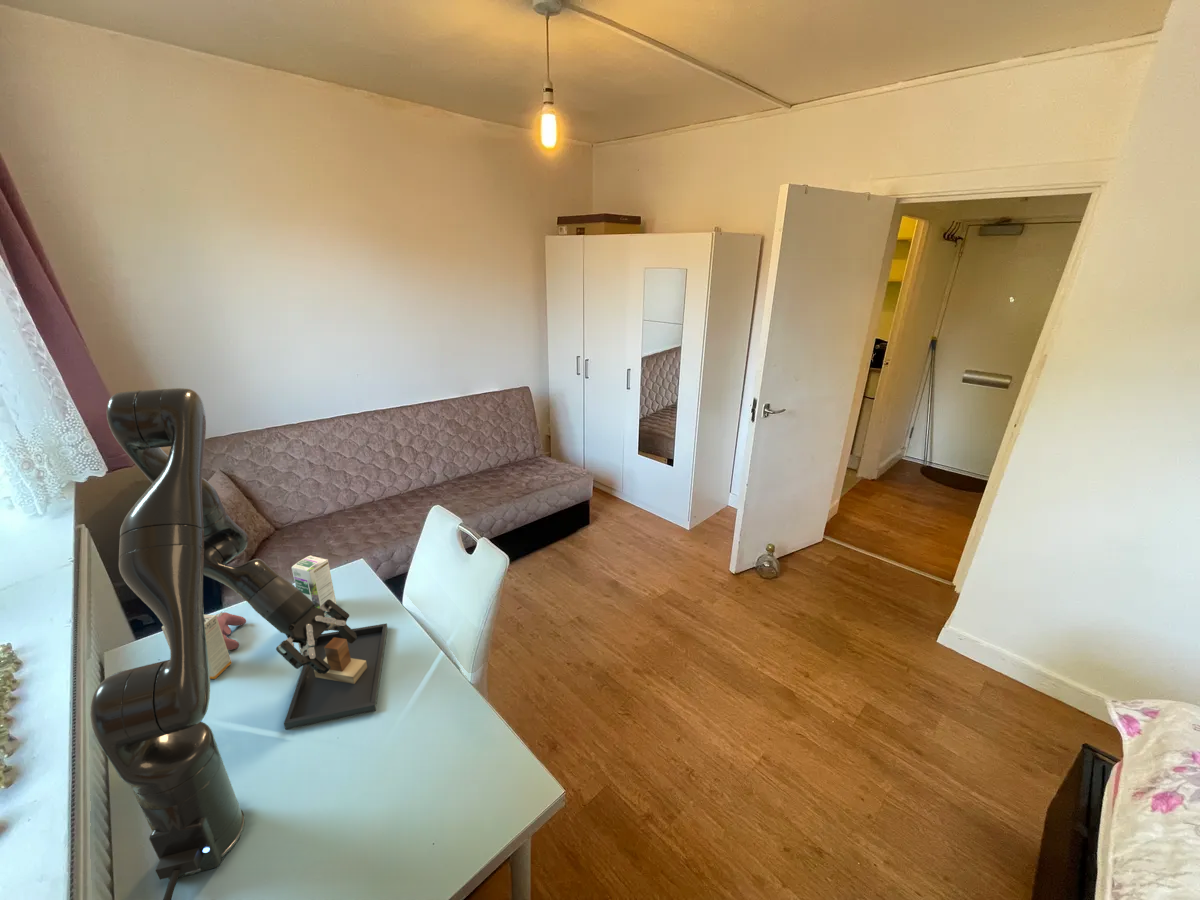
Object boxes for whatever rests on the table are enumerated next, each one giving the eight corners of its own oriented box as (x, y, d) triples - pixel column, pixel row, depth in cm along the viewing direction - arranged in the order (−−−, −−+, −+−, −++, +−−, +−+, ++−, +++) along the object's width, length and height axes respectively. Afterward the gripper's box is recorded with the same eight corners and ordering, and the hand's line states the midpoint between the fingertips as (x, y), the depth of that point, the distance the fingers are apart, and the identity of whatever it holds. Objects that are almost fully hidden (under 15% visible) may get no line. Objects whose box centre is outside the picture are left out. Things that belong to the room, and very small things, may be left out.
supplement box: (233, 662, 106) (218, 614, 101) (215, 680, 102) (198, 630, 97) (198, 658, 107) (181, 610, 102) (178, 676, 102) (159, 626, 97)
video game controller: (230, 630, 117) (207, 613, 113) (248, 619, 118) (226, 601, 114) (221, 660, 108) (195, 642, 105) (240, 647, 109) (216, 629, 106)
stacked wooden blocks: (367, 667, 105) (362, 638, 102) (354, 684, 101) (348, 654, 98) (329, 661, 106) (323, 632, 104) (315, 677, 102) (308, 647, 99)
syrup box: (301, 616, 120) (289, 567, 115) (320, 601, 125) (309, 553, 120) (319, 621, 118) (308, 572, 113) (338, 606, 124) (328, 558, 118)
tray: (376, 712, 96) (374, 705, 95) (286, 731, 91) (283, 723, 91) (388, 630, 117) (386, 623, 116) (315, 642, 112) (313, 635, 111)
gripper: (262, 618, 91) (328, 674, 94) (315, 573, 104) (371, 623, 107) (243, 636, 94) (308, 690, 97) (297, 590, 107) (353, 639, 110)
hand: (341, 655), depth 102 cm, fingers open, 8 cm apart
